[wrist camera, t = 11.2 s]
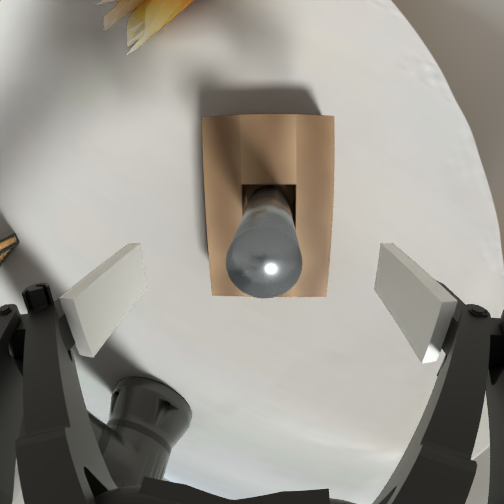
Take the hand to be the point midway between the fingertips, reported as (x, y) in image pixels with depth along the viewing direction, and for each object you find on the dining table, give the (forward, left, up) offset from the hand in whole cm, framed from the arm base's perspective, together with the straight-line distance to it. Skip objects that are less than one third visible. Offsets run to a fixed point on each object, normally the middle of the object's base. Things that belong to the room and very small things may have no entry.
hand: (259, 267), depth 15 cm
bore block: (0, 0, -18) cm, 18 cm away
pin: (0, 0, -16) cm, 16 cm away
